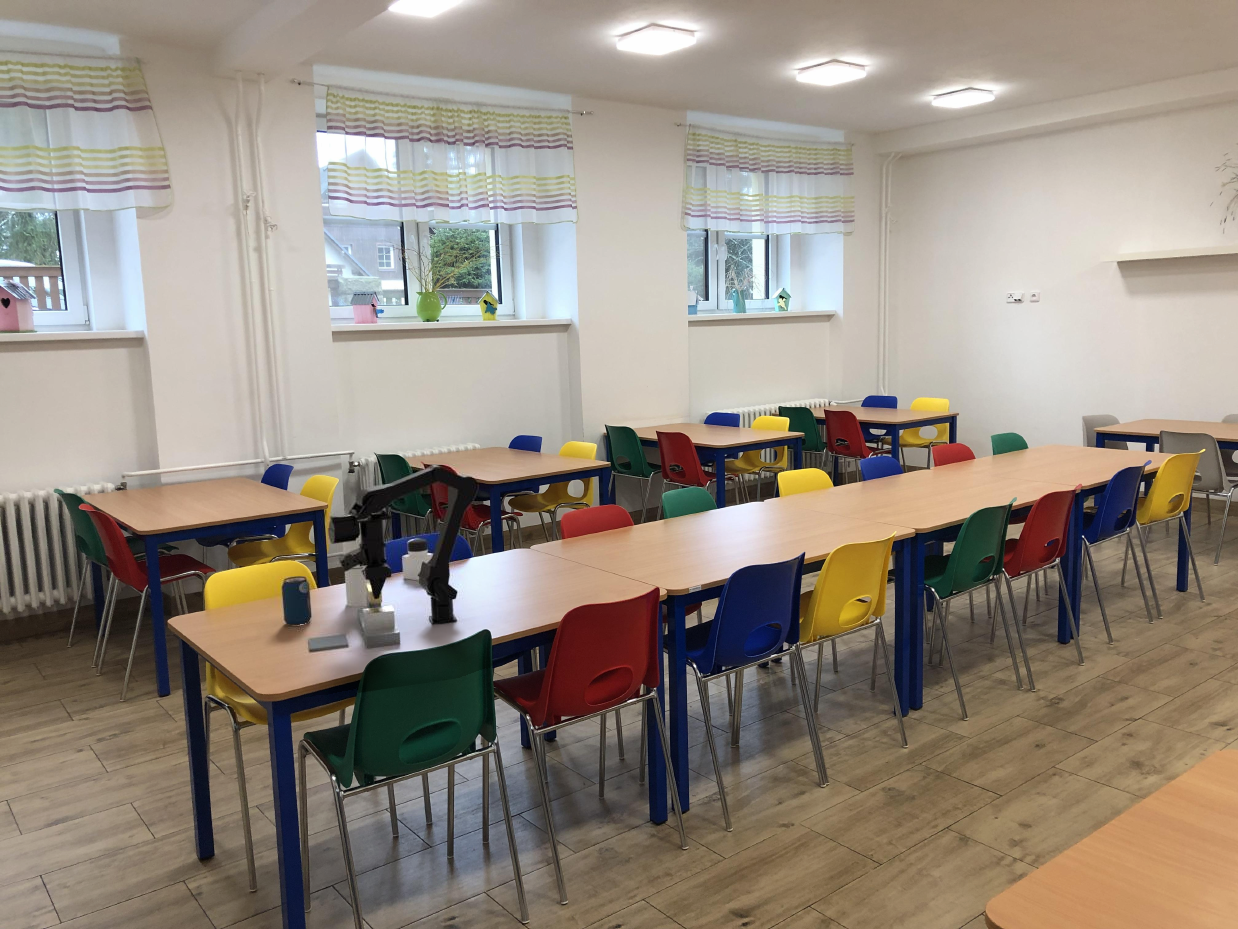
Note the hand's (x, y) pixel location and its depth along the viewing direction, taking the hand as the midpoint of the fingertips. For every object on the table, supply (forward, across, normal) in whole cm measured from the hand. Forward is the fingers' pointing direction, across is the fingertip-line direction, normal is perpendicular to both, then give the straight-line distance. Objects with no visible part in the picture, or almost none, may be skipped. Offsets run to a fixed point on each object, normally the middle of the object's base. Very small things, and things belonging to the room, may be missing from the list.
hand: (376, 598), depth 242 cm
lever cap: (+6, +4, 0) cm, 7 cm away
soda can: (+9, -18, -19) cm, 28 cm away
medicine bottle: (+9, -54, +18) cm, 57 cm away
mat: (+9, +4, -13) cm, 16 cm away
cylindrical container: (+9, -31, -2) cm, 32 cm away
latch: (+2, -6, 0) cm, 6 cm away
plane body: (+9, -1, 0) cm, 9 cm away
